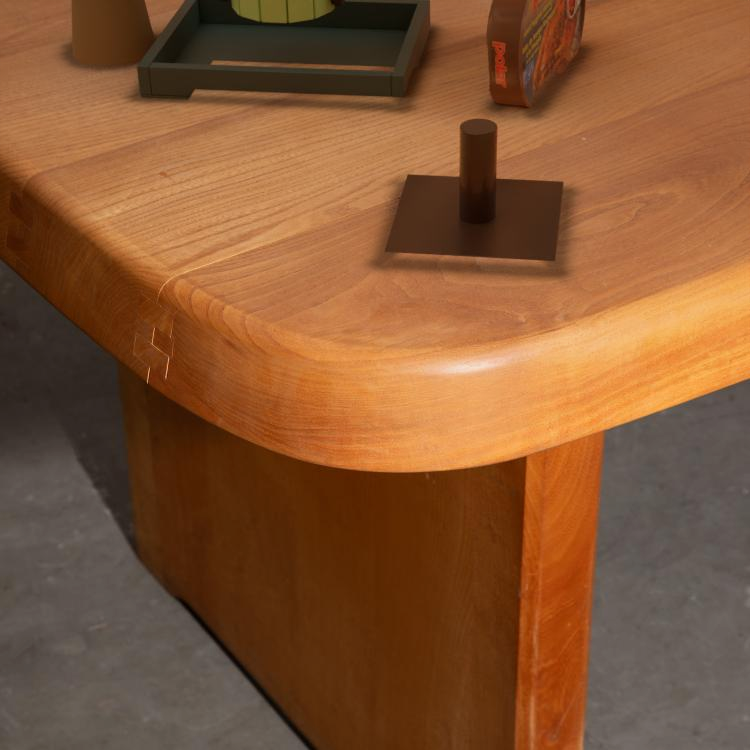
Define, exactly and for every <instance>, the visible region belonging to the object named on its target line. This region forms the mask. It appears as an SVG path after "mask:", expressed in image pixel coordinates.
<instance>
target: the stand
mask: <svg viewBox="0 0 750 750" xmlns="http://www.w3.org/2000/svg"><path fill="white" fill-rule="evenodd" d="M498 129H499V128H498V124H497V123H496V122H494V121H493V120H490V119H487V118H471V119H467V120H464V121H463V122H461V124H460V125H459V169H458V170H459V171H458V173H459V176H454V175H453V176H452V175H451V176H450V175H429V174H428V175H427V174H407V175H406V179H405V182H404V185H403V188H402V193H401V195H400V199H399V201H398V205H397V208H396V212H395V216H394V218H393V221H392V226H391V228H390V231H389V235H388V239H387V241H386V246H385V249H384V253H397V254H398V253H399V254H414V255H415V254H416V255H433V256H452V257H453V256H454V257H469V258H470V257H471V258H488V259H508V260H525V261H526V260H527V261H542V262H543V261H544V262H545V261H546V262H556V258H557V247H558V238H559V228H560V219H561V209H562V202H563V200H562V199H563V192H564V184H565V183H564V181H560V180H559V181H558V180H540V179H539V180H536V179H516V178H497V173H498V169H497V168H498V166H497V165H498V132H499V131H498Z"/></svg>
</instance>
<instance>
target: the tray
mask: <svg viewBox="0 0 750 750" xmlns="http://www.w3.org/2000/svg"><path fill="white" fill-rule="evenodd" d="M430 31H431V0H345V2H344V4H343V6H335V8H334V10H332V11H331V12H329V13H327V14H325V15H323V16H321V17H318V18H314V19H312V20H306V21H300V22H293V23H289V22H288V21H287V23H270V22H262V21H260V22H258V21H255V20H252V19H248V18H245V17H242V16H241V15H240V16H239V15H238V14H237V13H236V11H235V10H234V9H233V8H232V3H231V0H228V2H220V1H219V0H184V1H183V2H182V4H181V5H180V7H179V8H178V9H177V10H176V12H175V13H174V14H173V16H172V17H171V18H170V20H169V21H168V23H167V25H166V26H165V27H164V28H163V30H162V31H161V32H160V34H159V35H158V37H157V38H155V42H154V43H153V45H152V46H151V48H150V49H149V50H148V52H147V53H146V54H145V56H144V57H143V59H142V60H140V61H139V62H138V64H137V66H136V71H137V72H136V73H137V79H138V87H139V88H138V89H139V94H140V98H146V99H147V98H149V99H172V100H173V99H174V100H176V99H177V100H190V98H191V97H192V95H193V93H194V92H195V90H204V91H229V92H230V91H231V92H253V93H254V92H256V93H278V94H279V93H281V94H302V95H303V94H306V95H310V94H311V95H332V96H354V97H355V96H357V97H381V98H384V97H385V98H391V97H392V98H405V96H406V93H407V89H408V86H409V84H410V81H411V79H412V75H413V72H414V69H418V68H419V65H420V61H421V58H422V55H423V53H424V49H425V46H426V44H427V40H428V37H429V34H430ZM213 61H214V62H215V61H216V62H238V63H239V62H240V63H241V62H242V63H266V64H267V63H269V64H270V63H271V64H295V65H296V64H297V65H322V66H323V65H325V66H326V65H327V66H354V67H379V68H393V70H371V69H370V70H369V69H342V68H341V69H339V68H315V67H314V68H311V67H290V66H289V67H288V66H287V67H286V66H262V65H261V66H260V65H231V64H213Z"/></svg>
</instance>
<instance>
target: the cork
mask: <svg viewBox="0 0 750 750" xmlns="http://www.w3.org/2000/svg"><path fill="white" fill-rule="evenodd" d="M70 1H71V46H72V47H71V49H72V50H71V51H72V52H71V53H72V56H73V57H72V58H74V59H75V60H76V61H77V62H79V63H83V64H85V65H88V66H94V67H95V66H96V67H116V66H125V65H129V64H133V63H137V62H140V61H141V60H142V59H143V57H144V56H145V54H146V53H147V52H148V50H149V49H150V48H151V46H152V45H153V43H154V42H155V41H156V38H155V35H154V31H153V27H152V23H151V20H150V15H149V13H148V8H147V4H146V0H70Z"/></svg>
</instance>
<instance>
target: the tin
mask: <svg viewBox="0 0 750 750" xmlns="http://www.w3.org/2000/svg"><path fill="white" fill-rule="evenodd" d="M586 4H587V0H492V2H491V4H490V5H491V6H490V9H489V13H488V17H487V25H486V35H485V36H486V48H487V62H488V63H487V64H488V76H489V85H488V89H489V90H488V91H489V94H490V96H491V99H492V101H493V102H494V103H495V104H499V105H508V106H516V107H526V108H528V109H530V108H532V107H533V106H532V104H531V103H530V101H531V100H532V98H533V97H534V96H535V94H536V93H537V92H538V91H539V89H540V88H541V86H542V85H543V83H545V81H546V79H547V78H548V77H549V75H550V74H563V72H564V71H565V69H566V68H567V67H568V66H569V64H570V63H571V61H572V60H573V59H574V57H576V56H577V55H578V52H579V50H580V46H581V42H582V38H583V32H584V26H585V18H586V17H585V16H586Z"/></svg>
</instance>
